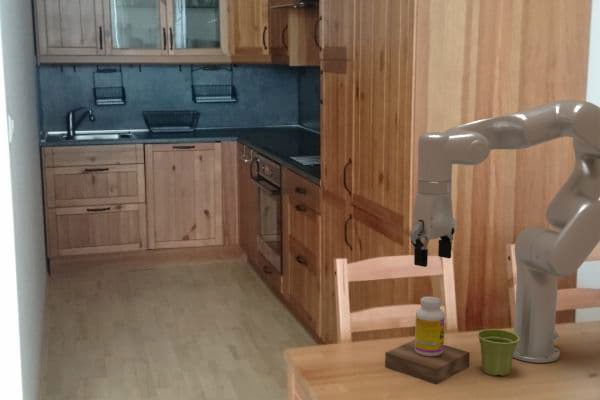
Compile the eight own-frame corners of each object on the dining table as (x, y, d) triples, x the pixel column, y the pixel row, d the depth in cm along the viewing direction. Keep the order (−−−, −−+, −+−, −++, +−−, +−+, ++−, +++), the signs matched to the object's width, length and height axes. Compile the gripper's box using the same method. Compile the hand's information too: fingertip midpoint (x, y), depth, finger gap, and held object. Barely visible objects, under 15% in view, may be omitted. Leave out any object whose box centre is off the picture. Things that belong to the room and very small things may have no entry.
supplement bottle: (442, 358, 173) (445, 304, 170) (413, 356, 174) (415, 302, 172) (443, 348, 179) (445, 296, 177) (415, 346, 180) (417, 294, 178)
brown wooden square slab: (419, 351, 187) (419, 337, 186) (469, 366, 177) (469, 352, 177) (385, 366, 177) (385, 352, 176) (435, 384, 167) (436, 369, 167)
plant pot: (489, 360, 181) (491, 325, 180) (524, 371, 175) (527, 335, 173) (467, 371, 175) (469, 335, 173) (503, 383, 168) (505, 346, 167)
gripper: (441, 181, 178) (439, 251, 181) (398, 191, 166) (397, 266, 169) (469, 184, 173) (467, 256, 176) (426, 194, 161) (425, 272, 164)
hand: (432, 261), depth 173 cm, fingers open, 9 cm apart
